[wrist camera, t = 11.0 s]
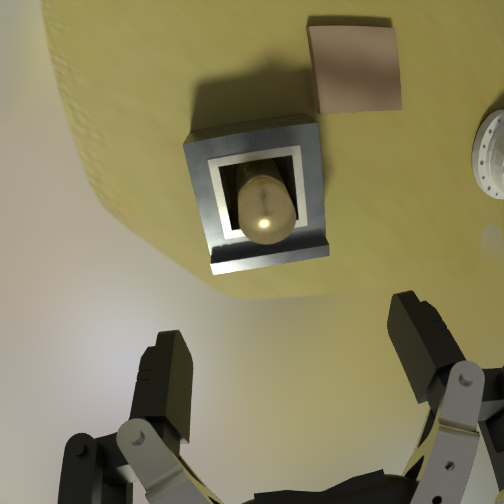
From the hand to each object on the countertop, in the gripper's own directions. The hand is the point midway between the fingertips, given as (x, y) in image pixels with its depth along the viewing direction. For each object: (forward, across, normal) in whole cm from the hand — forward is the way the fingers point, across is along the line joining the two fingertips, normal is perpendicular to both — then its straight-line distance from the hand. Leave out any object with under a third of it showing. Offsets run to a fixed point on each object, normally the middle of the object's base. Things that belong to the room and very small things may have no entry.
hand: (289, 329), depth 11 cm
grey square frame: (+17, 0, 0) cm, 17 cm away
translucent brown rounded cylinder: (+17, 0, 0) cm, 17 cm away
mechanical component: (+17, -27, 0) cm, 32 cm away
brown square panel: (+17, -9, -8) cm, 21 cm away
